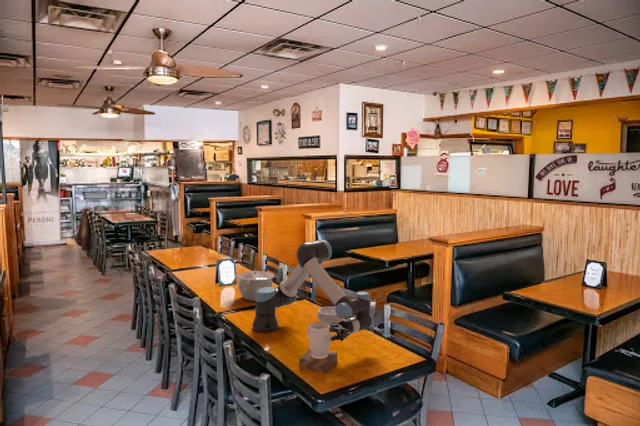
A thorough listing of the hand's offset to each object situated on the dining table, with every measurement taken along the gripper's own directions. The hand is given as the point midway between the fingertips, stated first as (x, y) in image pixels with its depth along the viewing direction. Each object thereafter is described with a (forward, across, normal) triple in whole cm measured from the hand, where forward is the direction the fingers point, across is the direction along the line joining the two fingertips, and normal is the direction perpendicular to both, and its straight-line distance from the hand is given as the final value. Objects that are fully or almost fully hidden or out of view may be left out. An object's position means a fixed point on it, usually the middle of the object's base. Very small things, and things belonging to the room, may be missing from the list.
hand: (315, 335), depth 215 cm
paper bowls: (-44, +41, -15) cm, 62 cm away
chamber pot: (-35, +113, -15) cm, 119 cm away
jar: (-2, -1, -10) cm, 10 cm away
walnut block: (-2, 0, -15) cm, 15 cm away
